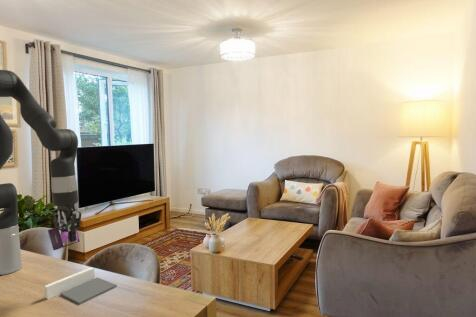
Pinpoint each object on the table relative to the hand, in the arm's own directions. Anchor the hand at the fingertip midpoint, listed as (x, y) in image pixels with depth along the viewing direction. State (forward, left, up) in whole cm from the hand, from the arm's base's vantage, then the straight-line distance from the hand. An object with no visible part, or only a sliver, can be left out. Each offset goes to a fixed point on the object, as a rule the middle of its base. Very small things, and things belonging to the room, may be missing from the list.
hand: (69, 240), depth 109 cm
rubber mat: (+8, +1, -16) cm, 18 cm away
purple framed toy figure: (0, -2, -1) cm, 2 cm away
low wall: (+1, -1, -16) cm, 16 cm away
